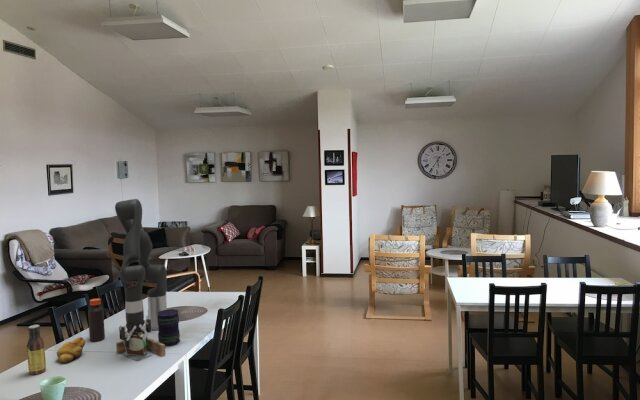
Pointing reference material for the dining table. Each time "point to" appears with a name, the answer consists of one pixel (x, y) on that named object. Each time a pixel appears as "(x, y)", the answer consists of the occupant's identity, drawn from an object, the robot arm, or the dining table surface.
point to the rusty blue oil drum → (168, 327)
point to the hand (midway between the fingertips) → (136, 345)
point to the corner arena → (150, 345)
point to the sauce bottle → (35, 351)
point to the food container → (137, 344)
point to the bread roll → (71, 350)
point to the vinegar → (96, 321)
